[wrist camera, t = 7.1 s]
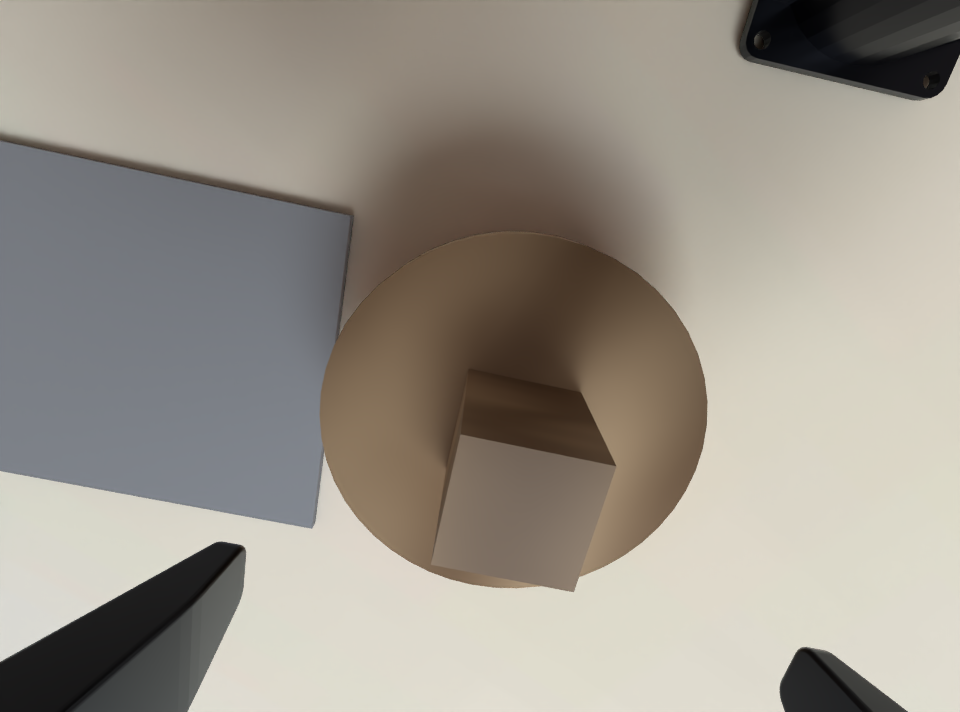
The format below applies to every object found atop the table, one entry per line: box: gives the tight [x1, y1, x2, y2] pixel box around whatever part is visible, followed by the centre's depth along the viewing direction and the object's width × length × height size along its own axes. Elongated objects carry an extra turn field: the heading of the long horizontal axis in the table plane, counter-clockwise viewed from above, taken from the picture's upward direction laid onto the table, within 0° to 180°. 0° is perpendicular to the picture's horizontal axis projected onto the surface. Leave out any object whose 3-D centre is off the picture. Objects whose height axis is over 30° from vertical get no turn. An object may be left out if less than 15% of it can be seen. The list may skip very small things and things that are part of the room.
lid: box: [319, 231, 707, 592], centre depth 13 cm, size 11×11×5 cm
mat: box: [0, 140, 354, 529], centre depth 19 cm, size 13×13×1 cm
